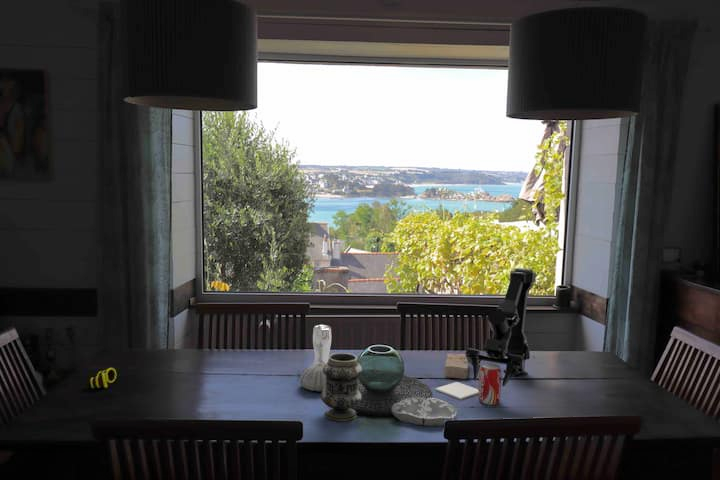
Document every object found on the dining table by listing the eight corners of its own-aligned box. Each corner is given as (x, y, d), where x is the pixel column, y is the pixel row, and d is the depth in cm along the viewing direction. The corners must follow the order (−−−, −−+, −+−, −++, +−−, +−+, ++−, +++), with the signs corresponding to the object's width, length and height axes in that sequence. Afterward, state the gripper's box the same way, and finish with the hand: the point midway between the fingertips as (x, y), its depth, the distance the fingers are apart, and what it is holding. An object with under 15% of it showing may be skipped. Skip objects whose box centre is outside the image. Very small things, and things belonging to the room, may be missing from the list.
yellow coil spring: (102, 382, 198) (99, 368, 198) (118, 379, 198) (114, 365, 198) (90, 392, 188) (87, 377, 188) (106, 389, 189) (103, 374, 188)
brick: (467, 379, 208) (468, 367, 207) (444, 377, 209) (444, 365, 209) (468, 366, 224) (469, 354, 223) (446, 364, 225) (447, 352, 225)
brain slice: (456, 408, 180) (457, 399, 180) (456, 431, 164) (457, 421, 163) (394, 403, 183) (394, 394, 183) (388, 425, 167) (388, 415, 166)
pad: (456, 383, 202) (456, 381, 202) (481, 392, 194) (481, 390, 194) (435, 390, 195) (435, 388, 195) (460, 399, 187) (460, 398, 187)
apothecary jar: (362, 423, 167) (364, 362, 165) (321, 423, 166) (322, 362, 164) (359, 407, 179) (360, 350, 177) (320, 407, 178) (321, 350, 176)
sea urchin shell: (309, 378, 204) (309, 356, 203) (345, 384, 200) (345, 361, 199) (293, 391, 192) (293, 367, 191) (330, 397, 187) (331, 373, 186)
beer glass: (334, 365, 219) (335, 326, 218) (323, 370, 213) (324, 330, 212) (319, 361, 223) (320, 324, 222) (308, 366, 217) (309, 327, 216)
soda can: (496, 407, 181) (497, 370, 180) (474, 402, 185) (476, 366, 183) (503, 401, 187) (504, 365, 186) (482, 396, 191) (483, 361, 189)
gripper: (468, 324, 191) (455, 365, 183) (524, 332, 182) (514, 376, 174) (474, 342, 199) (462, 382, 191) (529, 350, 190) (519, 393, 182)
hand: (488, 383), depth 184 cm, fingers open, 9 cm apart
